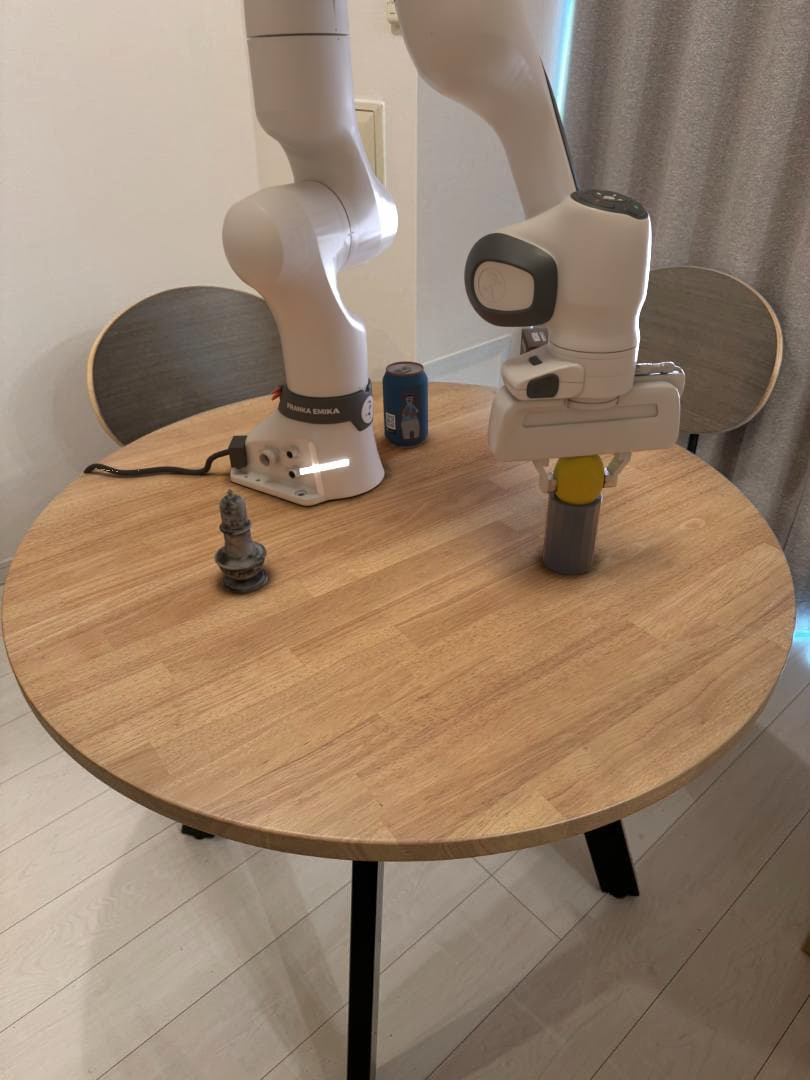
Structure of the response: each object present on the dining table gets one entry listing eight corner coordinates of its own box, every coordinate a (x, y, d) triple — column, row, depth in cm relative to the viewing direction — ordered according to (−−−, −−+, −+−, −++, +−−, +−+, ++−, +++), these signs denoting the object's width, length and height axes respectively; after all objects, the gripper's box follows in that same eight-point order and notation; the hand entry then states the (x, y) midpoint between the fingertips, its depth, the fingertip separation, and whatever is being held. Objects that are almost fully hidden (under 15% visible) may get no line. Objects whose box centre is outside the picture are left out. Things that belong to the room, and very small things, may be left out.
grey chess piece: (279, 570, 87) (266, 480, 81) (254, 598, 82) (239, 505, 76) (235, 562, 89) (220, 473, 82) (209, 589, 84) (190, 497, 78)
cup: (537, 568, 86) (544, 502, 81) (548, 543, 91) (556, 478, 86) (587, 579, 84) (597, 511, 79) (596, 553, 89) (606, 487, 84)
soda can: (406, 428, 121) (405, 356, 115) (437, 440, 117) (437, 366, 111) (375, 441, 117) (372, 368, 111) (406, 454, 113) (404, 378, 107)
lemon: (544, 516, 82) (551, 451, 78) (555, 493, 87) (562, 431, 82) (594, 525, 81) (604, 459, 76) (603, 501, 85) (612, 438, 80)
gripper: (674, 351, 78) (654, 468, 86) (486, 364, 76) (482, 482, 84) (702, 371, 73) (678, 493, 80) (500, 385, 71) (495, 509, 79)
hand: (576, 488), depth 82 cm, fingers closed on lemon, 5 cm apart
